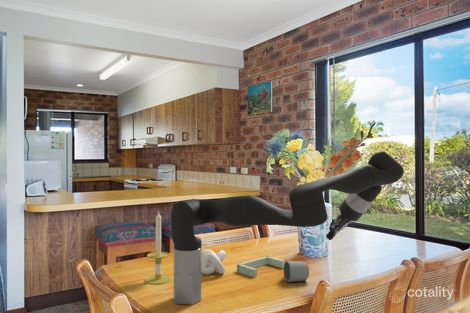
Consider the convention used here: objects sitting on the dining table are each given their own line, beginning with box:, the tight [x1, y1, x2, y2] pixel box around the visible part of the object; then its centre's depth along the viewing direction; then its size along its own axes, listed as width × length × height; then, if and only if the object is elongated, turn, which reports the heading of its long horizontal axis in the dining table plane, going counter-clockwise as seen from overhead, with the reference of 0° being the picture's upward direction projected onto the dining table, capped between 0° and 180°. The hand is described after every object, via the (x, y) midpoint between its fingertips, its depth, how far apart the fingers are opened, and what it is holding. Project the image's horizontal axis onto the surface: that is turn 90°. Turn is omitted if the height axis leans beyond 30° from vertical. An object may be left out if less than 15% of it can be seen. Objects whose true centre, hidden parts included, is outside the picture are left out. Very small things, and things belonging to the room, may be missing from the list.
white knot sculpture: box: [201, 249, 227, 276], centre depth 149 cm, size 11×12×9 cm
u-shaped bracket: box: [236, 255, 286, 278], centre depth 154 cm, size 10×19×3 cm, turn 133°
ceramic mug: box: [282, 260, 310, 283], centre depth 142 cm, size 11×8×8 cm
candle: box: [144, 210, 172, 286], centre depth 140 cm, size 10×10×27 cm
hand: (328, 237), depth 130 cm, fingers closed
